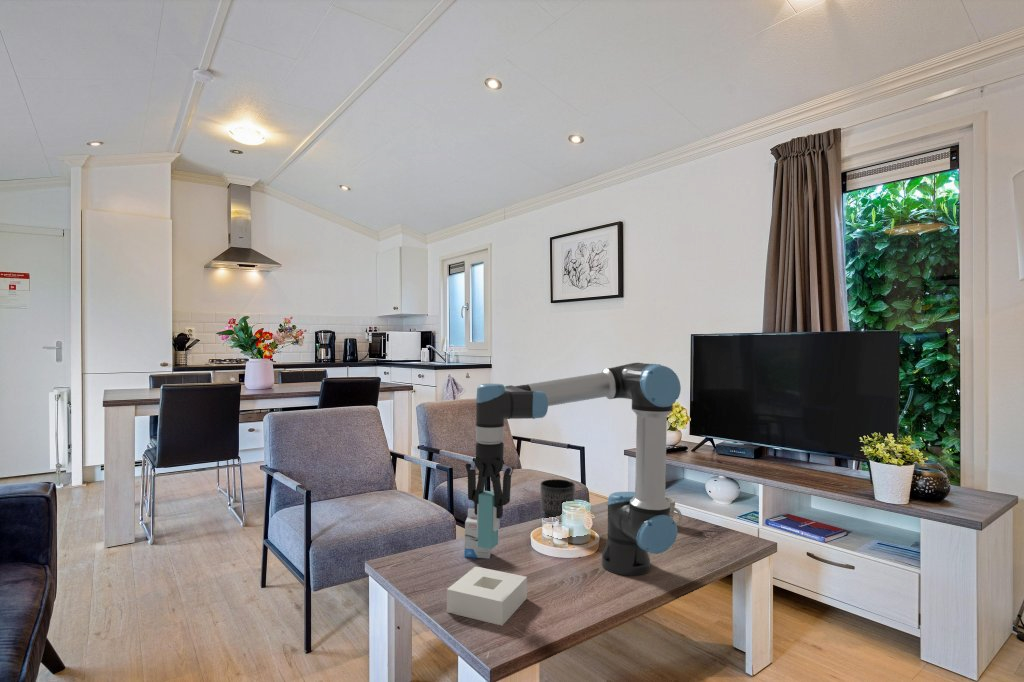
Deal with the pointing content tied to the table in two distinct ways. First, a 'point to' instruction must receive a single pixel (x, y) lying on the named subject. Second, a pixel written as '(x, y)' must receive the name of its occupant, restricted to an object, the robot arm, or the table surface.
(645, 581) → the table surface
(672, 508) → the mug
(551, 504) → the planter
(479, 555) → the ink box
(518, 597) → the socket block
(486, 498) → the post
